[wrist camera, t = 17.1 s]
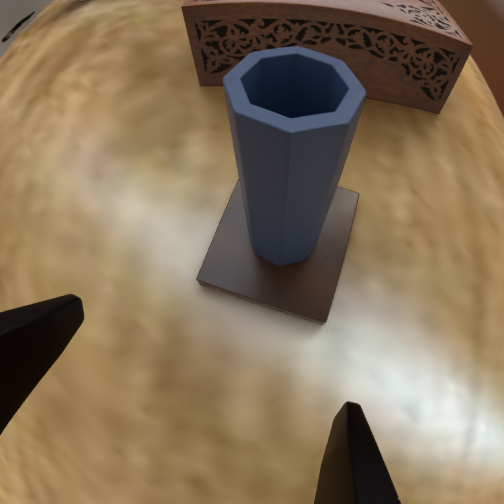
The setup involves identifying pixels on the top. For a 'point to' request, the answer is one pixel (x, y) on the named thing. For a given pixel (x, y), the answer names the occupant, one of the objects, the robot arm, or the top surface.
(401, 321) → the top surface
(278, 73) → the blue sleeve
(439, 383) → the top surface
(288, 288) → the brown plate with knob
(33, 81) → the top surface
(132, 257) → the top surface
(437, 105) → the tissue box cover
